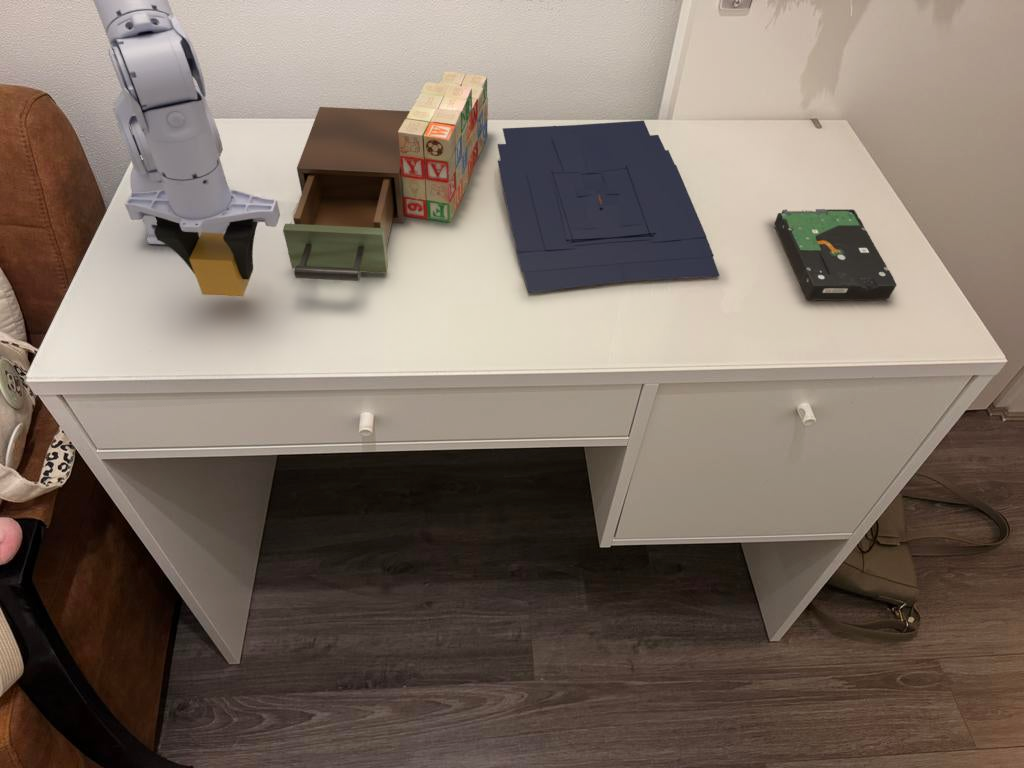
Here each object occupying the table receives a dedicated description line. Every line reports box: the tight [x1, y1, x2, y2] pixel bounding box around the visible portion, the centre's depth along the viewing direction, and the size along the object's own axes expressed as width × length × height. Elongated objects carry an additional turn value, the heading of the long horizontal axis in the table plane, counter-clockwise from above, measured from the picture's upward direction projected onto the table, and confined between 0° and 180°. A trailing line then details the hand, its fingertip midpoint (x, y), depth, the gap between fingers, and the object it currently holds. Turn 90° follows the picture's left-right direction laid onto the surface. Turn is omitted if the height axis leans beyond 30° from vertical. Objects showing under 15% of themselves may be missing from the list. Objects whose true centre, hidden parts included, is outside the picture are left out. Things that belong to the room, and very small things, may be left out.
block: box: [189, 232, 254, 297], centre depth 80 cm, size 4×4×5 cm
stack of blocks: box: [398, 70, 489, 223], centre depth 99 cm, size 21×6×12 cm, turn 168°
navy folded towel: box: [497, 120, 721, 294], centre depth 98 cm, size 24×30×4 cm
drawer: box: [282, 173, 396, 282], centre depth 89 cm, size 19×11×6 cm, turn 179°
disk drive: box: [774, 208, 897, 301], centre depth 93 cm, size 10×3×15 cm
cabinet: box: [296, 106, 411, 224], centre depth 98 cm, size 14×12×7 cm
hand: (224, 272), depth 81 cm, fingers closed on block, 4 cm apart
